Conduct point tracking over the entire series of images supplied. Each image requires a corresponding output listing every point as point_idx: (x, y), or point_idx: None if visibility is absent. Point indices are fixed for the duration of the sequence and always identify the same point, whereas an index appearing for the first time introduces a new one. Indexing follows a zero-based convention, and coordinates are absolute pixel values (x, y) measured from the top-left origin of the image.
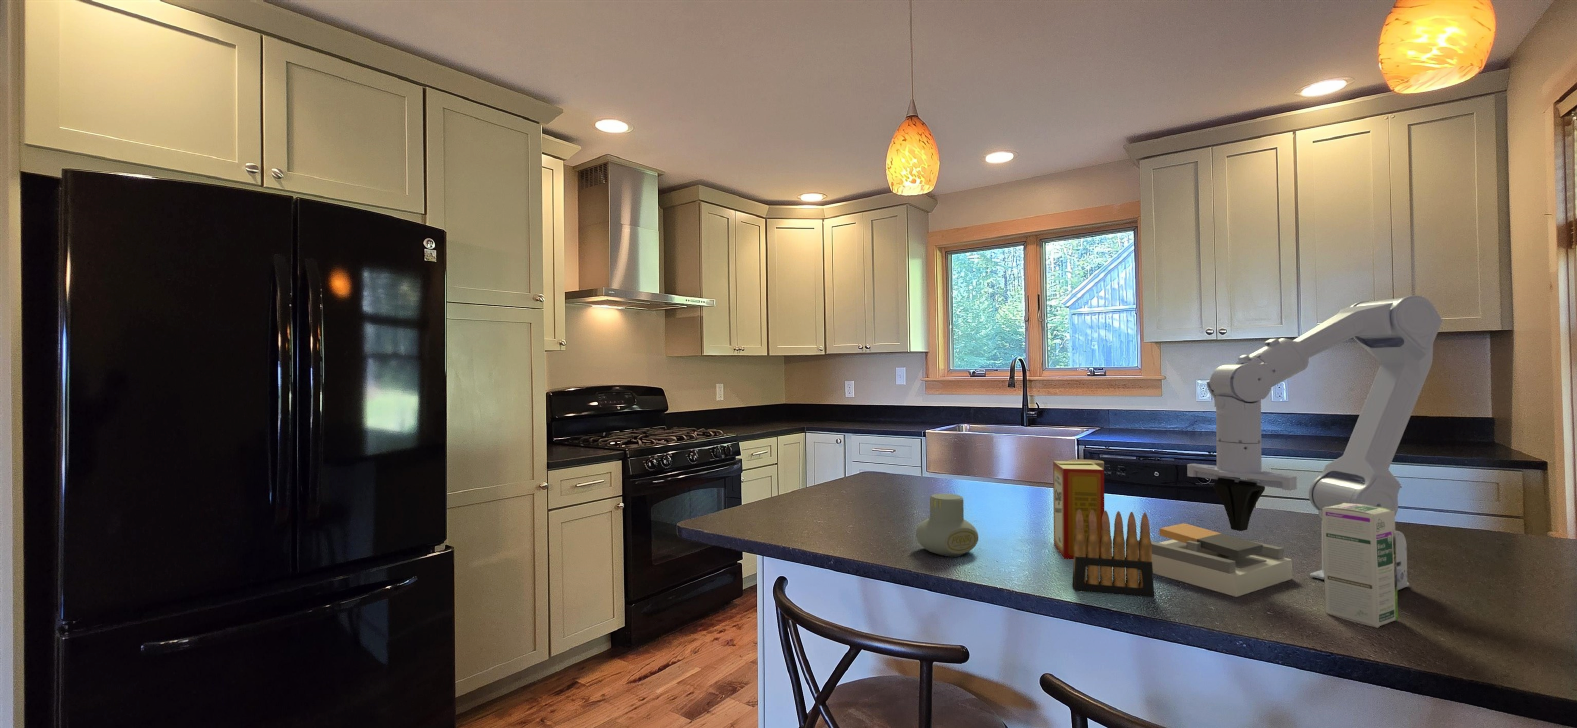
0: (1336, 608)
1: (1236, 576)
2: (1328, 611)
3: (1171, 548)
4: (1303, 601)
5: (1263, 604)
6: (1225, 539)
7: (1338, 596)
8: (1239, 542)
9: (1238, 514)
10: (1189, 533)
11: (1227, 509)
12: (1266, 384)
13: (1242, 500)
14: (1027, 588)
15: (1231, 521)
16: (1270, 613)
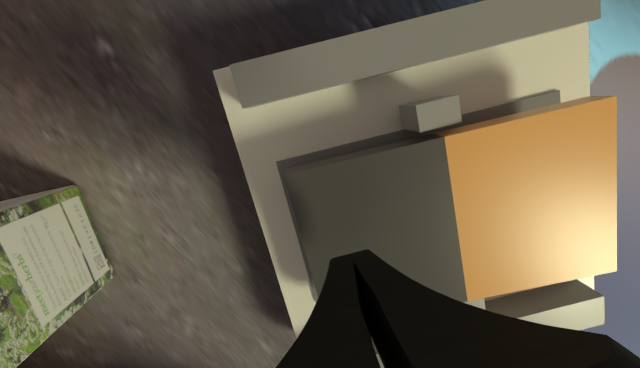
0: (38, 193)
1: (214, 72)
2: (66, 186)
3: (454, 11)
4: (165, 215)
5: (163, 94)
6: (407, 251)
7: (3, 204)
8: None
9: (334, 292)
10: (510, 172)
11: (403, 284)
12: None
13: (294, 365)
14: None
15: (368, 259)
16: (98, 45)
